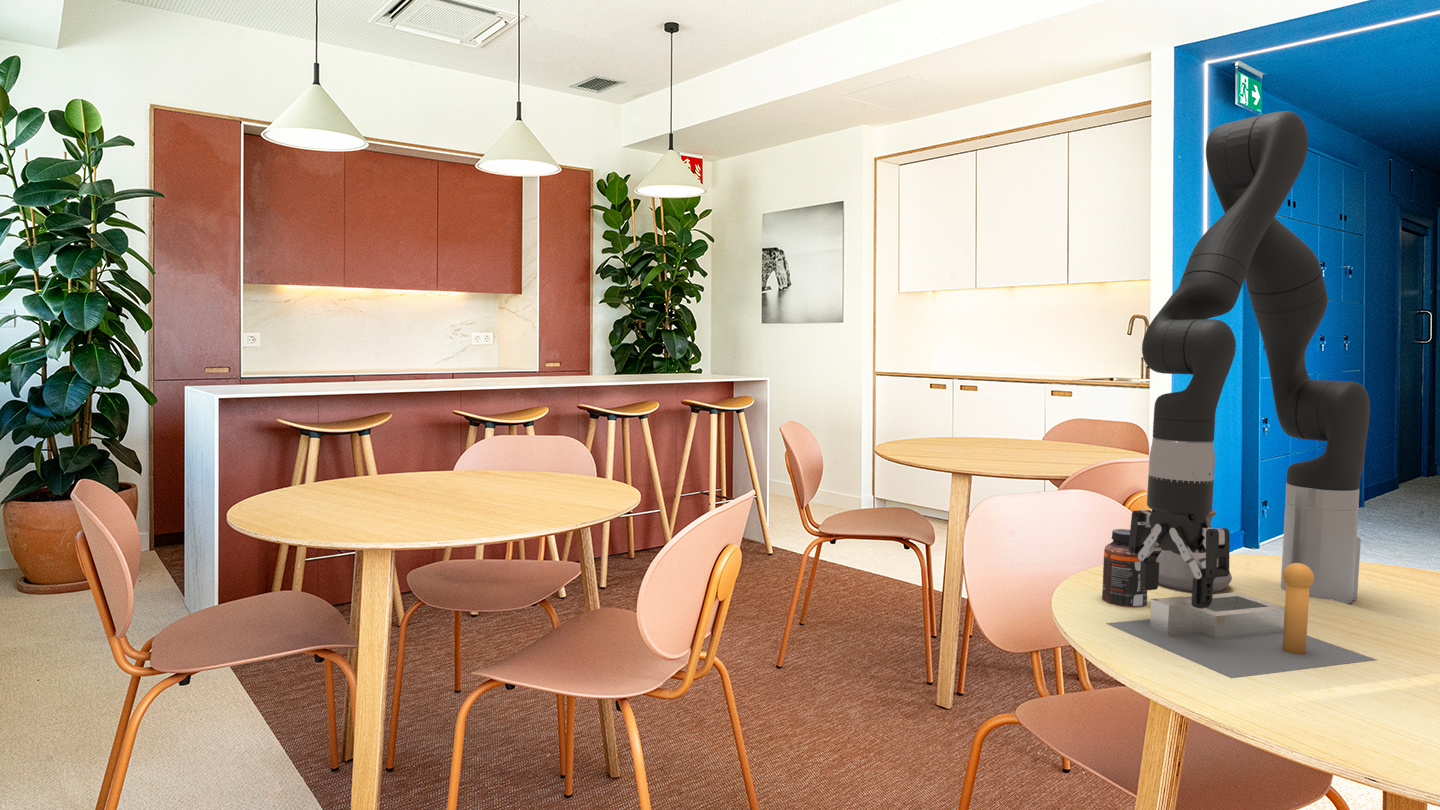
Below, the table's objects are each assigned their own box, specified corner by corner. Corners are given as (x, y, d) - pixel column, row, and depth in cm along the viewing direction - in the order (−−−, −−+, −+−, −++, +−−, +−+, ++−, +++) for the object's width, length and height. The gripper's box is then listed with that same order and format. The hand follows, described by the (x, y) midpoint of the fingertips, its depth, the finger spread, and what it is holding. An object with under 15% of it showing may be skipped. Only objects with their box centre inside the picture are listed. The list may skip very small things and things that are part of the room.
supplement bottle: (1151, 615, 125) (1155, 536, 124) (1106, 612, 126) (1110, 534, 125) (1140, 603, 131) (1143, 528, 130) (1097, 600, 132) (1100, 526, 131)
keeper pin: (1292, 645, 110) (1297, 559, 109) (1316, 654, 107) (1321, 565, 106) (1272, 647, 109) (1277, 561, 108) (1295, 656, 106) (1300, 567, 105)
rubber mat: (1235, 617, 124) (1235, 610, 124) (1376, 667, 105) (1377, 659, 105) (1105, 630, 118) (1105, 623, 118) (1231, 686, 99) (1231, 677, 99)
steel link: (1235, 613, 123) (1237, 585, 123) (1287, 631, 115) (1289, 601, 115) (1135, 623, 118) (1137, 593, 118) (1182, 642, 110) (1184, 611, 110)
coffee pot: (1154, 576, 146) (1158, 487, 145) (1233, 588, 140) (1238, 494, 139) (1131, 607, 128) (1136, 506, 127) (1221, 622, 122) (1227, 515, 121)
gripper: (1251, 482, 108) (1243, 612, 109) (1162, 466, 121) (1155, 582, 122) (1202, 483, 106) (1194, 616, 107) (1117, 467, 119) (1111, 585, 120)
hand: (1173, 597), depth 114 cm, fingers open, 8 cm apart
